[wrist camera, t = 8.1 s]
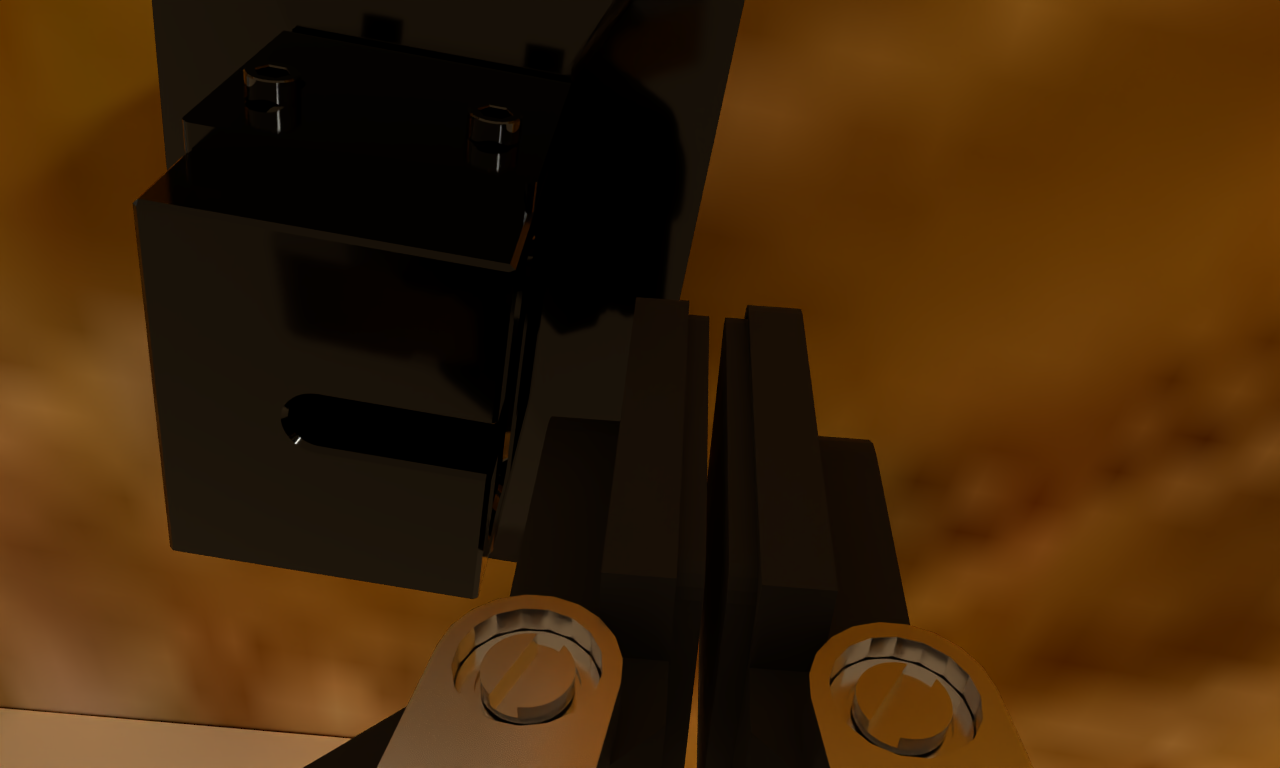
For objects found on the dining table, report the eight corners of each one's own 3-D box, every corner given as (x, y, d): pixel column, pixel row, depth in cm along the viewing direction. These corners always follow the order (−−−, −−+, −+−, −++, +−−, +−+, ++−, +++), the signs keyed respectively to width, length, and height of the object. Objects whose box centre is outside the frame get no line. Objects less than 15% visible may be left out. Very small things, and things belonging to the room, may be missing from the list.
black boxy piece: (645, 603, 17) (621, 892, 13) (167, 524, 16) (-4, 797, 12) (880, -374, 9) (987, -381, 6) (42, -545, 9) (-444, -676, 5)
